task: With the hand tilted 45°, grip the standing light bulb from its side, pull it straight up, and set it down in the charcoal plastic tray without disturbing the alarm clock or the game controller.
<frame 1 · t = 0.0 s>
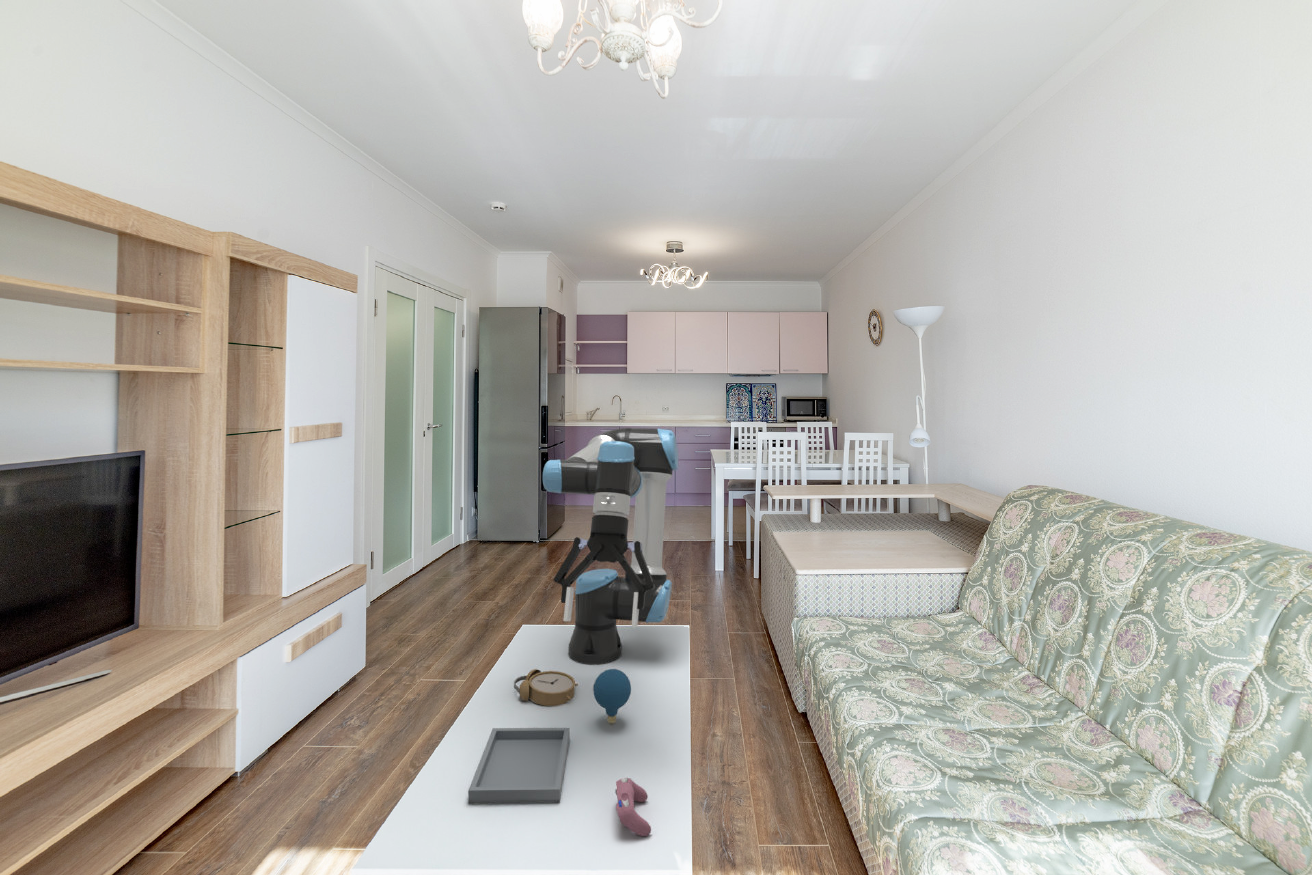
hand: (600, 623, 118), 28 cm above the table, tool tilted 20°, fingers open, 13 cm apart
alarm clock: (544, 695, 145), on the table
tray: (523, 768, 116), on the table
light bulb: (611, 723, 133), on the table
video game controller: (632, 819, 103), on the table
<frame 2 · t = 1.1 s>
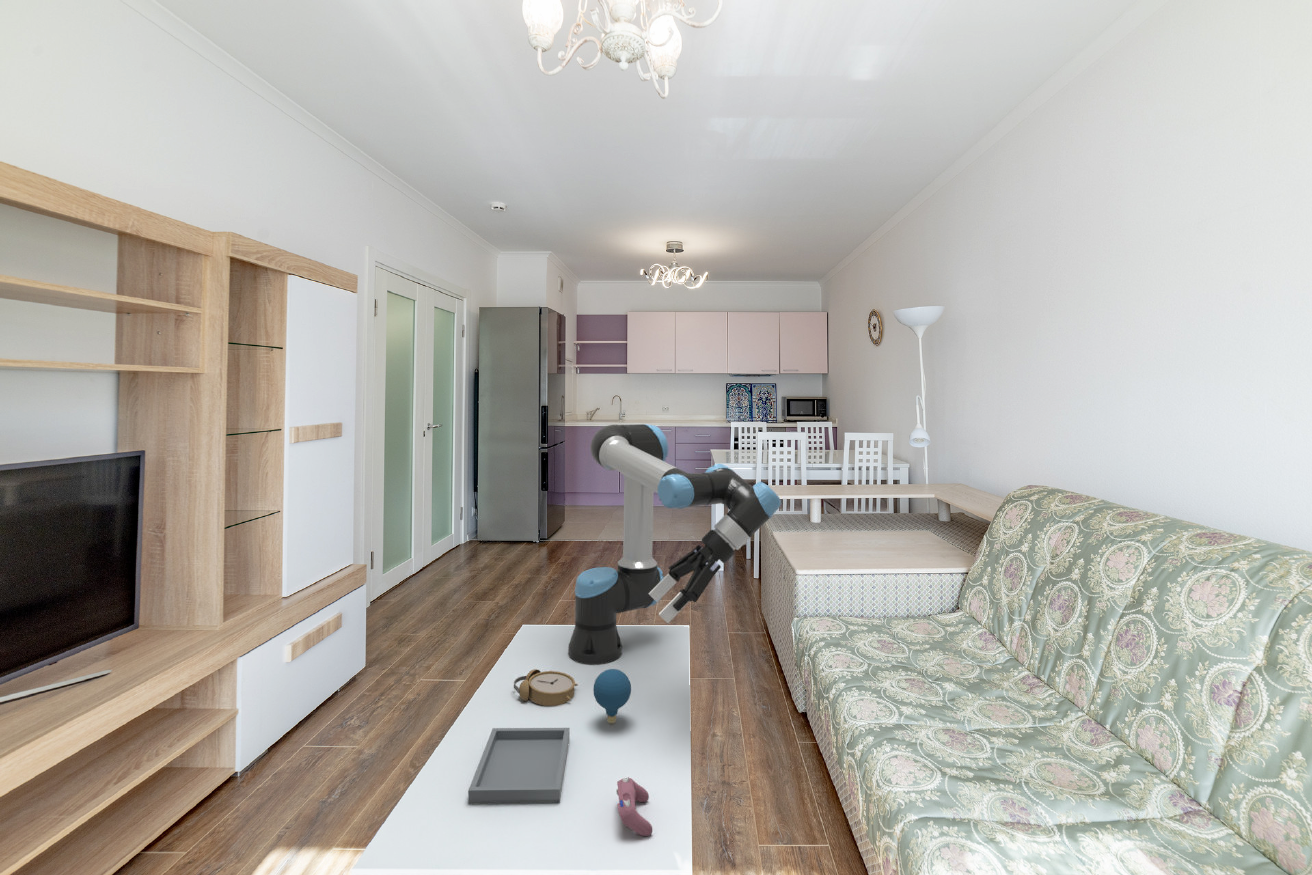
hand: (657, 607, 133), 26 cm above the table, tool tilted 45°, fingers open, 13 cm apart
nothing on the table moved.
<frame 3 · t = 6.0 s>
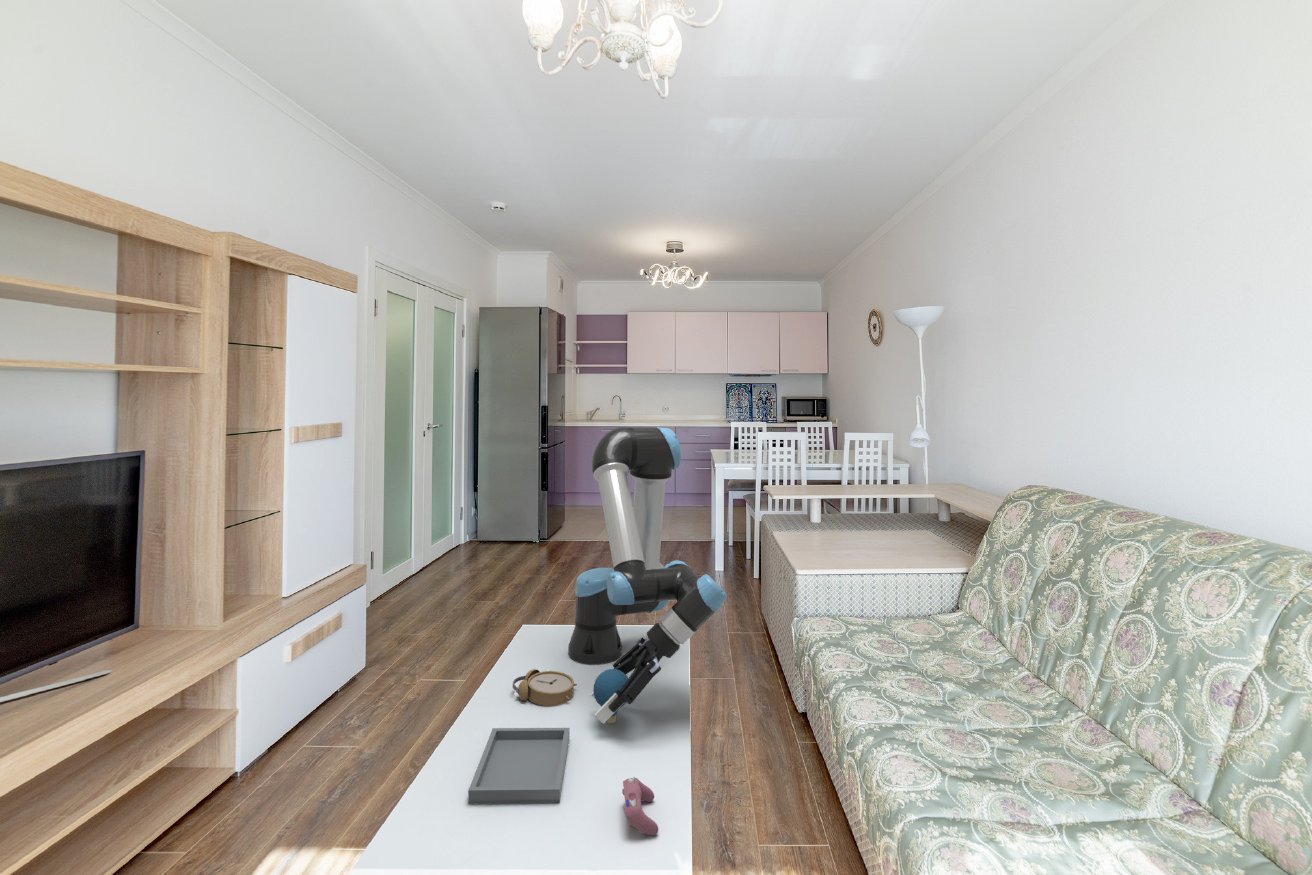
hand: (597, 708, 132), 4 cm above the table, tool tilted 45°, fingers closed on light bulb, 8 cm apart
light bulb: (611, 723, 133), on the table, touching gripper
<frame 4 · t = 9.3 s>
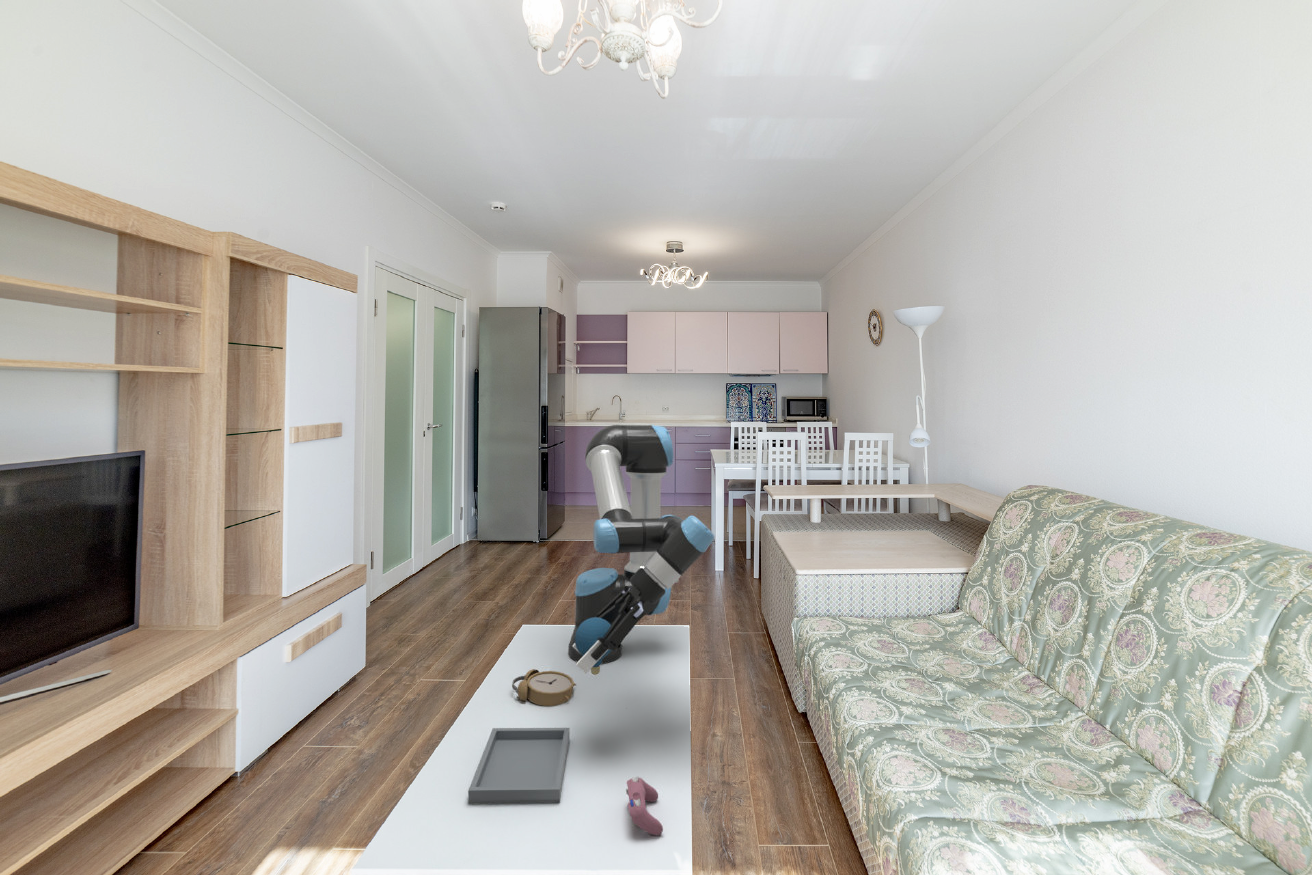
hand: (579, 658, 124), 18 cm above the table, tool tilted 45°, fingers closed on light bulb, 8 cm apart
light bulb: (595, 675, 125), point 14 cm above the table, touching gripper
when the fingers open (6 cm above the table, at t = 12.9 s): light bulb drops 2 cm, resting on tray.
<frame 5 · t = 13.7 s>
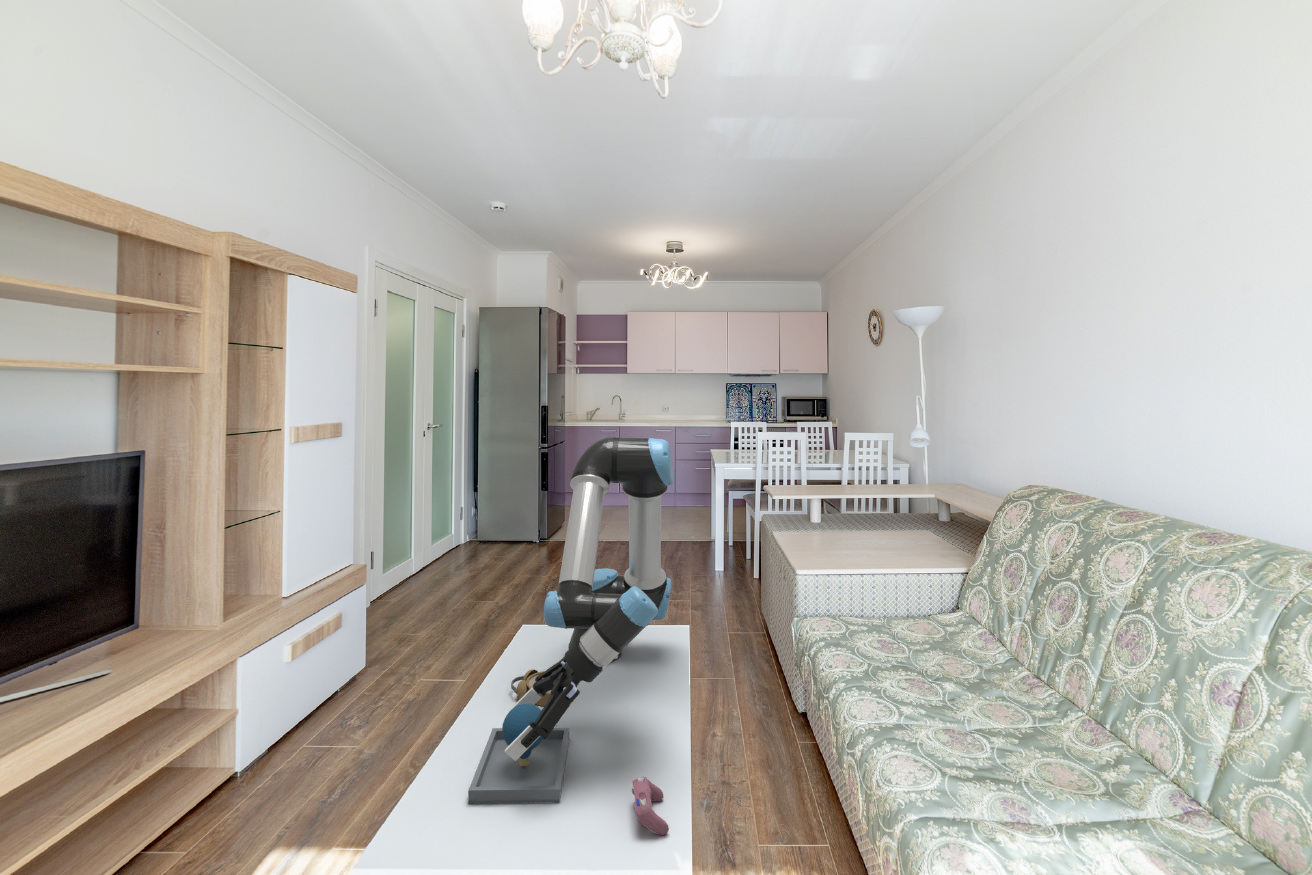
hand: (511, 734, 115), 7 cm above the table, tool tilted 45°, fingers open, 13 cm apart
light bulb: (524, 766, 116), resting on tray
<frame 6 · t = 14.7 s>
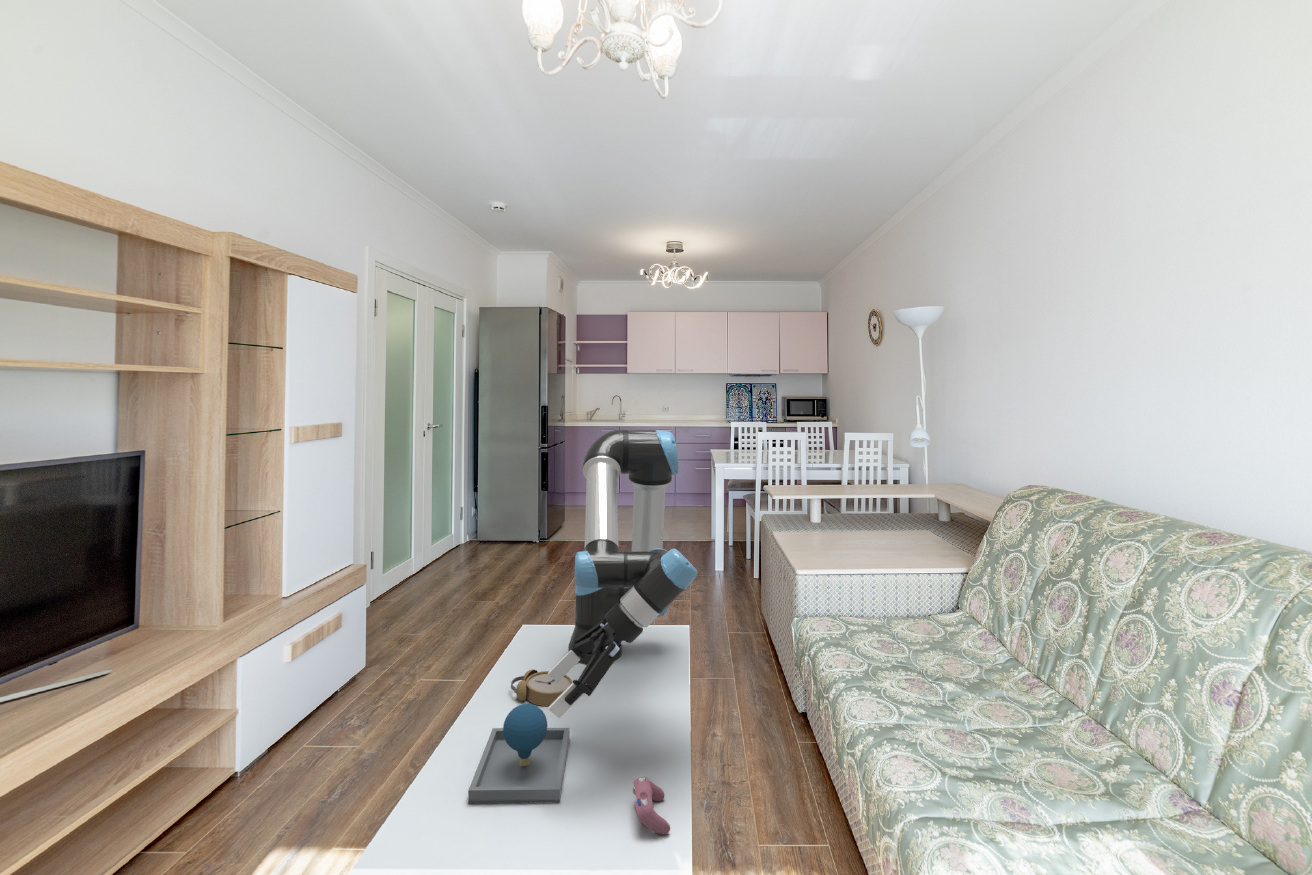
hand: (553, 694, 116), 15 cm above the table, tool tilted 45°, fingers open, 13 cm apart
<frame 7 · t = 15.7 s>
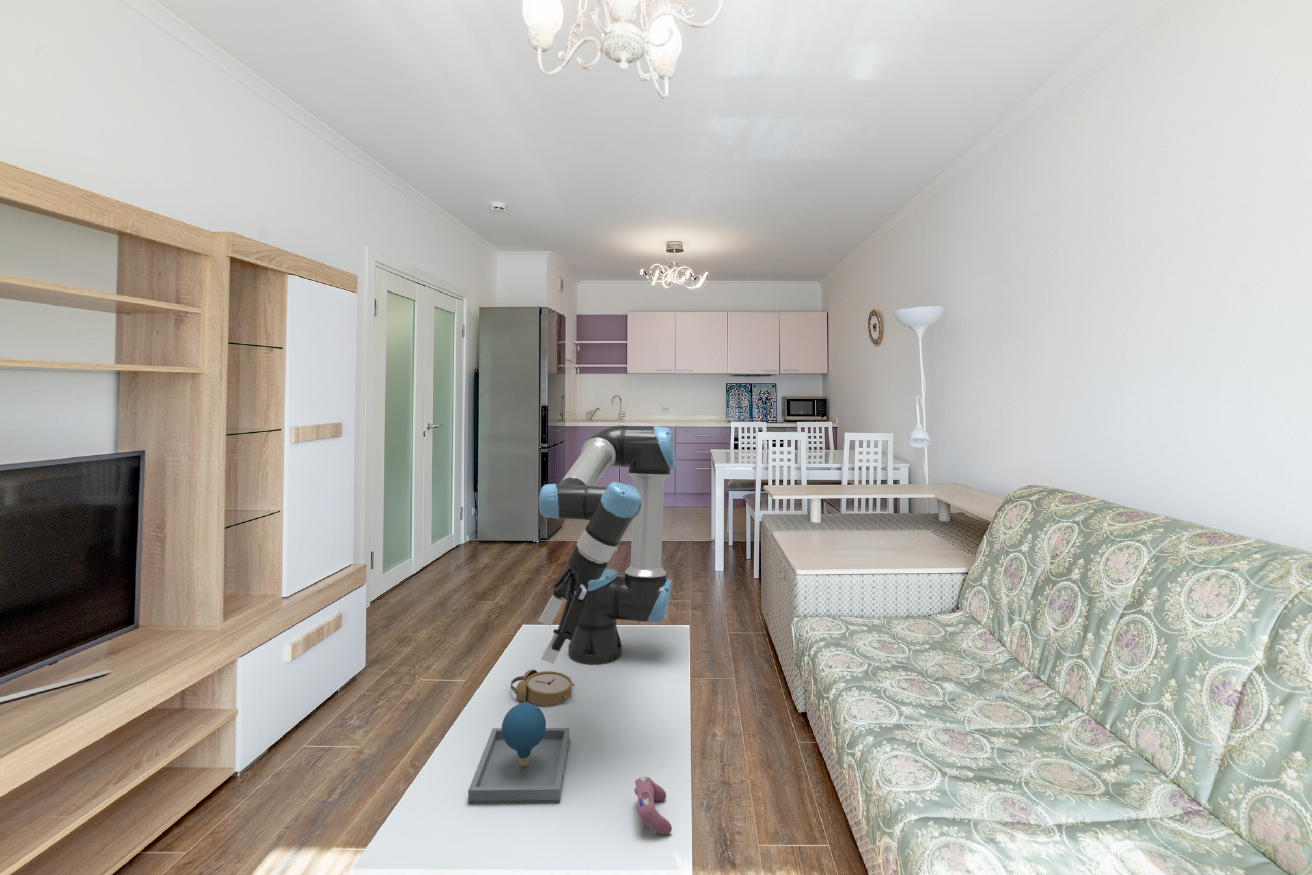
hand: (545, 640, 125), 21 cm above the table, tool tilted 25°, fingers open, 13 cm apart
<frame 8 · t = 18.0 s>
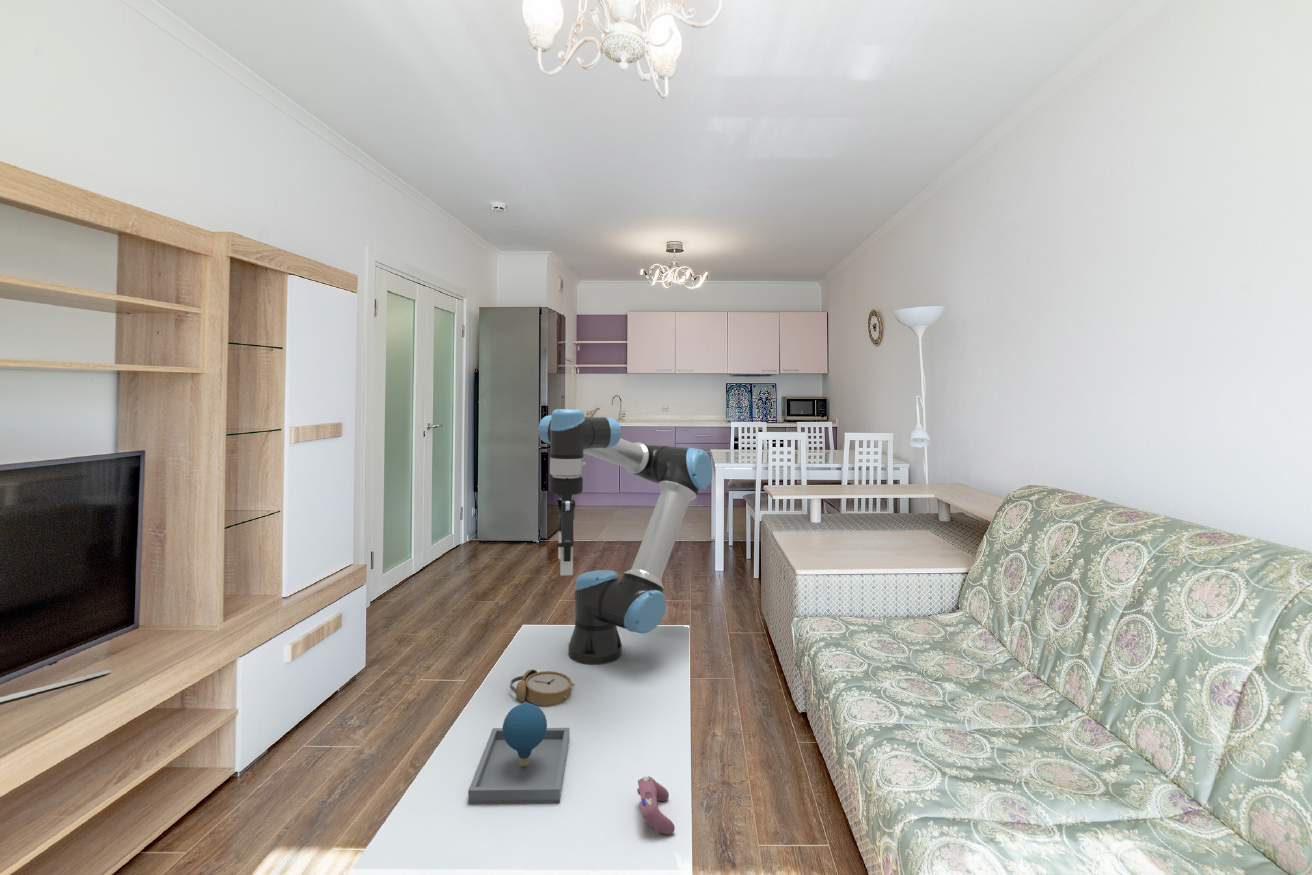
hand: (565, 566, 140), 33 cm above the table, tool pointing down, fingers open, 13 cm apart
at the end: light bulb inside the target area on the tray (0.2 cm from its centre), point 0.4 cm above the tray's base; light bulb tilted 0°; alarm clock moved 1.0 cm from its start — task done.
